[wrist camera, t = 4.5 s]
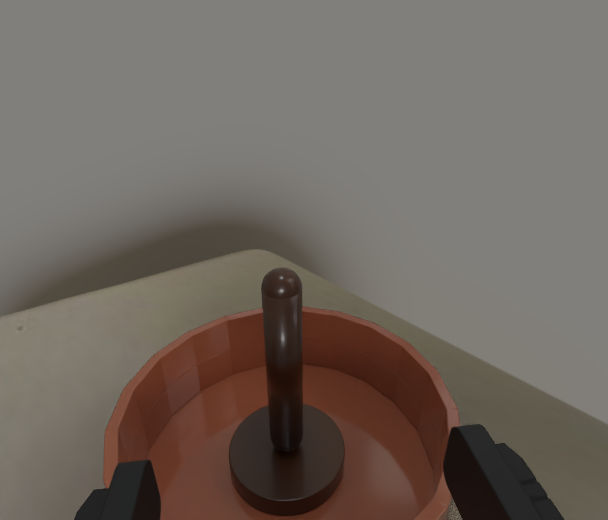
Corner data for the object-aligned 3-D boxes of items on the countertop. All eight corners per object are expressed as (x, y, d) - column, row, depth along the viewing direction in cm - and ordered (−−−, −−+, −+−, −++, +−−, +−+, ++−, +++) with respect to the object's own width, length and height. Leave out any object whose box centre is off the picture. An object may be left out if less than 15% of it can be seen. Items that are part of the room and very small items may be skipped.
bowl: (349, 345, 33) (353, 287, 31) (521, 559, 19) (552, 483, 17) (125, 406, 28) (107, 341, 25) (133, 777, 13) (93, 711, 11)
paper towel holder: (316, 403, 27) (318, 232, 21) (365, 488, 22) (384, 290, 16) (219, 434, 25) (194, 252, 19) (247, 537, 19) (223, 327, 14)
